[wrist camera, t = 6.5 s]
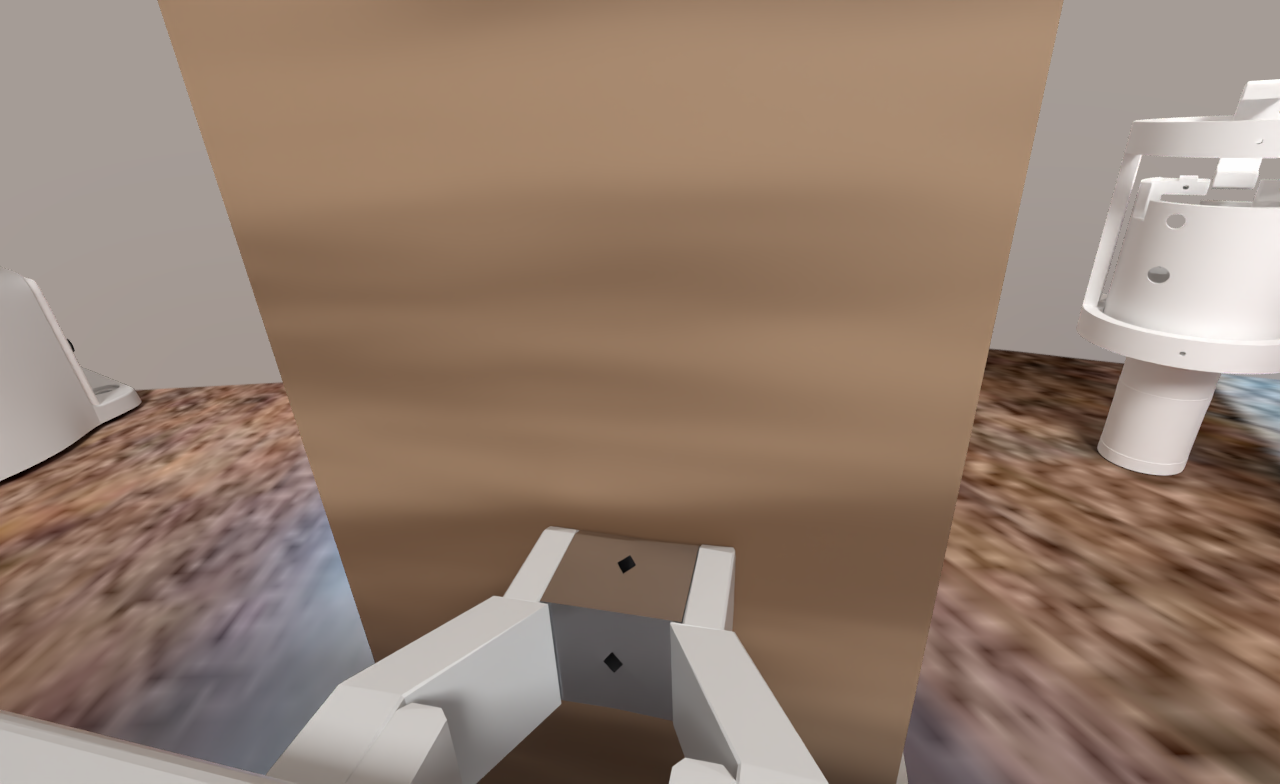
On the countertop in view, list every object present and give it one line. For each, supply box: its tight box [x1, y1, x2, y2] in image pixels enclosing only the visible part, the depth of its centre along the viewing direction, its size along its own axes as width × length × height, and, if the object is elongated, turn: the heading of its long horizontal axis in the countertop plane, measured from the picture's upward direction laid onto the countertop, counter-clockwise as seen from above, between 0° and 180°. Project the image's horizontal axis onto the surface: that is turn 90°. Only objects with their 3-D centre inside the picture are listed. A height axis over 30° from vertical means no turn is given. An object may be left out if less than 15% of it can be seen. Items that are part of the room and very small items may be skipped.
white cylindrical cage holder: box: [1076, 80, 1280, 475], centre depth 23 cm, size 7×7×15 cm
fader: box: [158, 0, 1063, 784], centre depth 10 cm, size 4×10×17 cm, turn 77°
